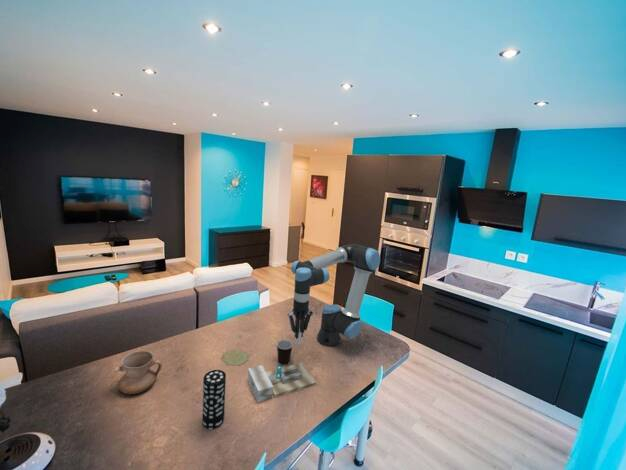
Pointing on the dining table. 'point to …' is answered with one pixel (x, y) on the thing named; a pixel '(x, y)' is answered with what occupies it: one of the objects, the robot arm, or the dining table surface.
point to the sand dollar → (235, 357)
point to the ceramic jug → (137, 372)
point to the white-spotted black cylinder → (213, 399)
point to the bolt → (277, 375)
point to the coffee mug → (284, 351)
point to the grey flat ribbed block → (292, 381)
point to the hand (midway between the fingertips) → (298, 343)
